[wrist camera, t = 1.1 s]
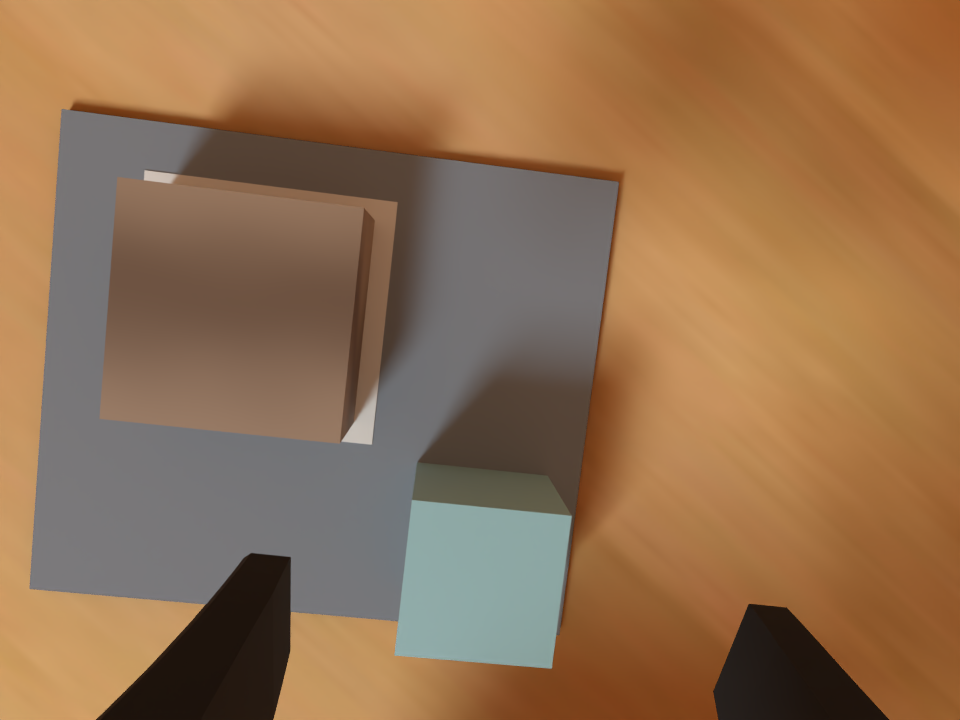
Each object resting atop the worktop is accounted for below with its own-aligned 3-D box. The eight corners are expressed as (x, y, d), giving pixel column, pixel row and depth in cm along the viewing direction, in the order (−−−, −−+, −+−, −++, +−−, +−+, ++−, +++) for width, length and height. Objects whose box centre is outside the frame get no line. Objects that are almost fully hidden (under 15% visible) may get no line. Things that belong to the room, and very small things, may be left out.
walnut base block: (353, 423, 21) (339, 443, 18) (148, 401, 21) (99, 419, 18) (374, 220, 21) (364, 207, 18) (164, 194, 20) (117, 177, 17)
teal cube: (531, 601, 22) (551, 668, 18) (402, 589, 22) (394, 655, 18) (547, 475, 22) (571, 515, 18) (417, 462, 22) (412, 499, 18)
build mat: (557, 630, 23) (559, 635, 22) (35, 584, 22) (28, 589, 21) (616, 183, 21) (619, 181, 21) (67, 111, 20) (61, 108, 20)
